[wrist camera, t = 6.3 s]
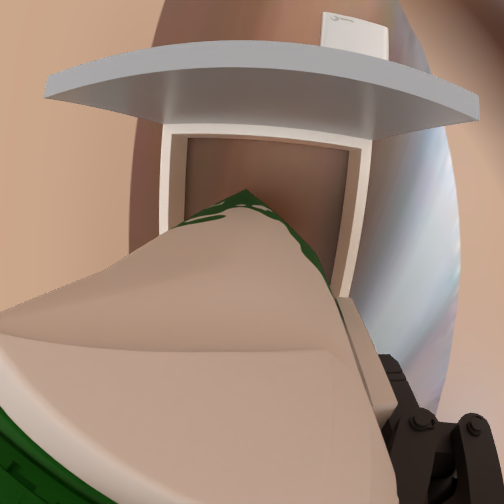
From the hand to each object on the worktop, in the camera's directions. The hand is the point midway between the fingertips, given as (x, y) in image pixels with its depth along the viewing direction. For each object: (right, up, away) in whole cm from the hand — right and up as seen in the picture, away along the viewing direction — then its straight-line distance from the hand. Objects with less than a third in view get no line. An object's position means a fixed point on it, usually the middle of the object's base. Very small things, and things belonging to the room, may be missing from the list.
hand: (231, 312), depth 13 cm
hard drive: (+13, +25, +12) cm, 30 cm away
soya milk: (+1, +2, +7) cm, 8 cm away
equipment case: (+2, +10, +18) cm, 20 cm away
